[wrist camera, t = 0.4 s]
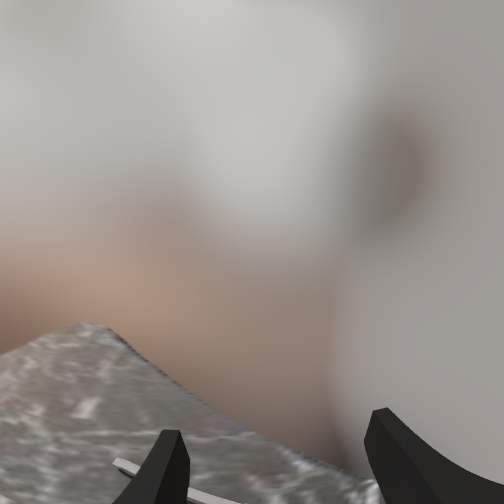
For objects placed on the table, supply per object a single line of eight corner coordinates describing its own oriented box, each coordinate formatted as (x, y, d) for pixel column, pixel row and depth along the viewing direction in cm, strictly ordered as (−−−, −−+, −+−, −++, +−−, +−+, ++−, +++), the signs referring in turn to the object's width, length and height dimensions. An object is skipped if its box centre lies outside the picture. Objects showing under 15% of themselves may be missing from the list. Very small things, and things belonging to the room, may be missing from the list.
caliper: (318, 530, 18) (340, 515, 16) (315, 540, 17) (338, 527, 15) (118, 458, 23) (100, 429, 21) (112, 466, 22) (94, 437, 20)
